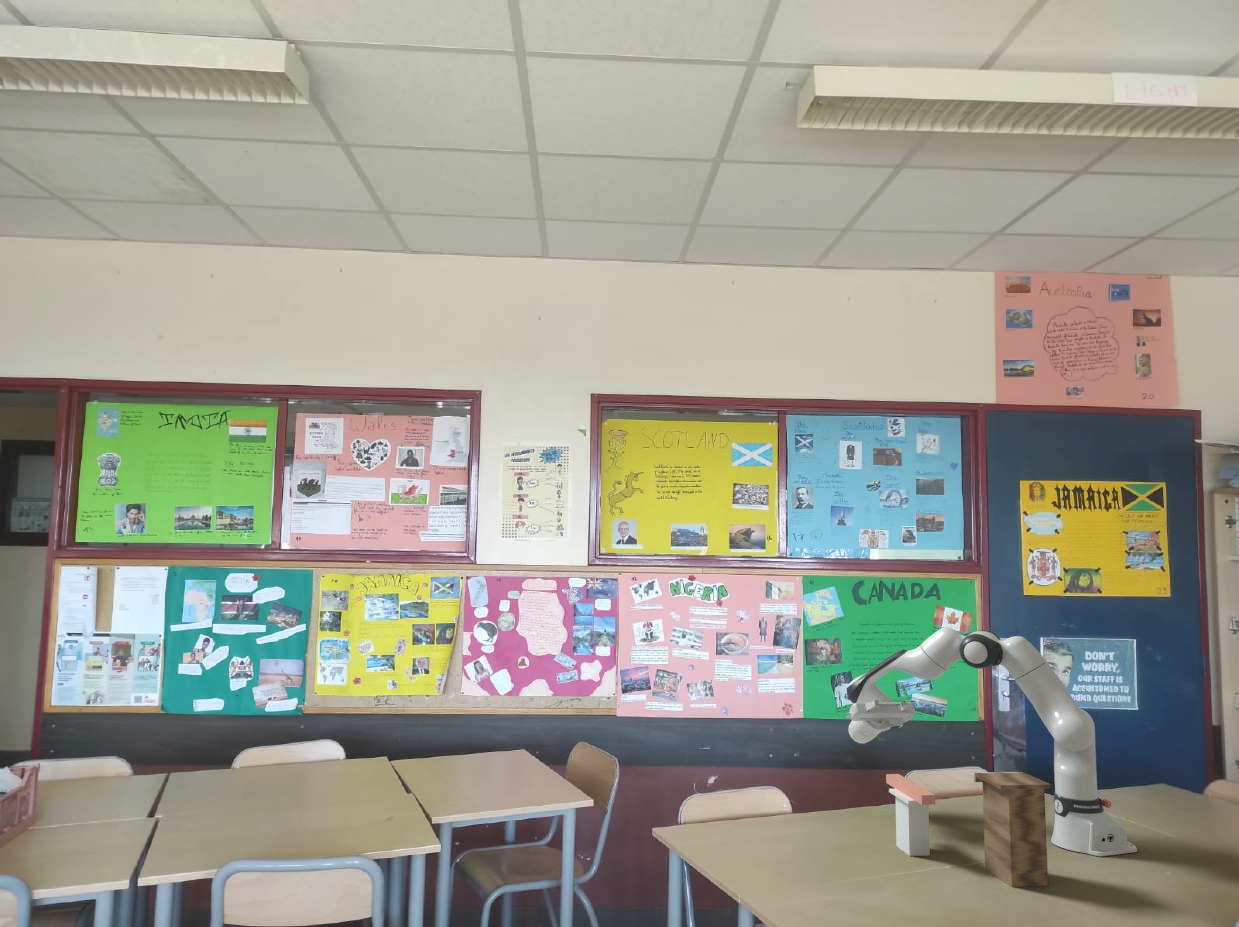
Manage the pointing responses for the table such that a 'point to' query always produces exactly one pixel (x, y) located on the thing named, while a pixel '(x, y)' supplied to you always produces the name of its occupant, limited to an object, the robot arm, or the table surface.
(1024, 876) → the brown pedestal
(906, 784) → the salmon pink flat bar
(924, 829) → the stand
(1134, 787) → the table surface
